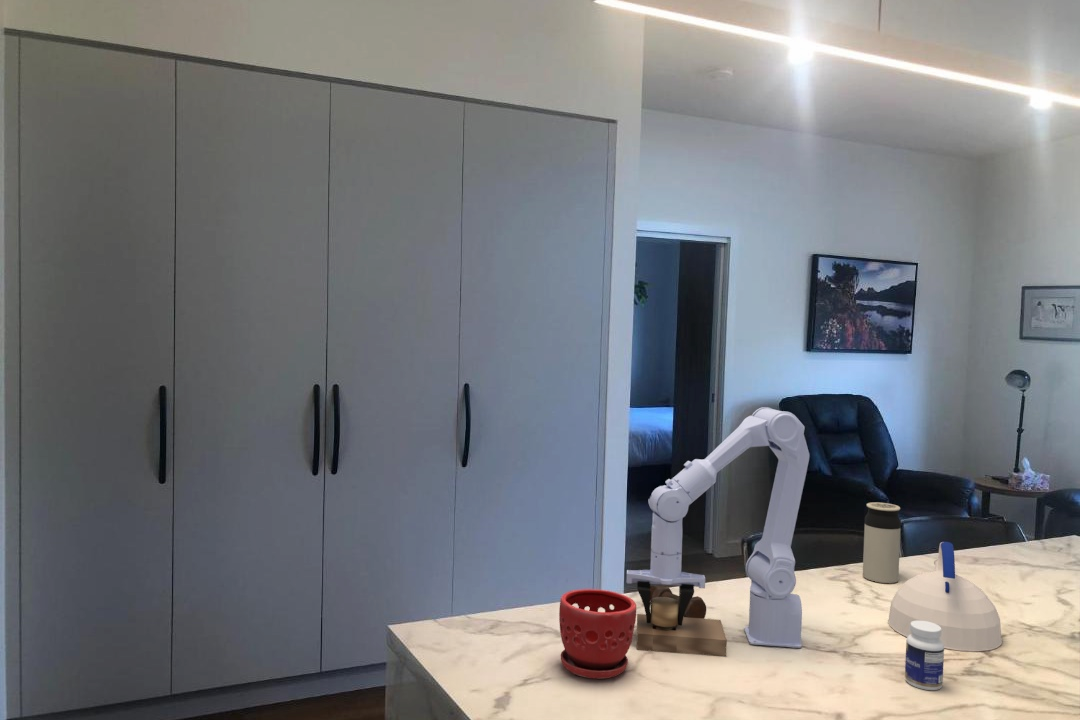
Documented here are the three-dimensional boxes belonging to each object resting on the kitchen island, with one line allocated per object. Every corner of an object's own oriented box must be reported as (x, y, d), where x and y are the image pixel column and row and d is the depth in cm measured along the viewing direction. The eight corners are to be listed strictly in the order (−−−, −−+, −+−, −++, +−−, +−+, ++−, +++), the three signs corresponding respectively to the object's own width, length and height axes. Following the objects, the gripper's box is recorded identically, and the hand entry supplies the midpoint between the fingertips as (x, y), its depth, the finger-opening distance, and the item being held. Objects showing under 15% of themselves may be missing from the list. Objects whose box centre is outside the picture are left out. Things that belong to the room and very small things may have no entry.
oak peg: (675, 636, 146) (676, 597, 146) (679, 647, 141) (680, 607, 141) (648, 635, 147) (649, 596, 146) (650, 645, 141) (652, 605, 141)
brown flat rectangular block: (720, 635, 148) (720, 619, 148) (726, 656, 138) (726, 639, 138) (636, 629, 150) (637, 613, 150) (636, 649, 140) (637, 633, 140)
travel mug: (904, 584, 182) (907, 509, 181) (870, 583, 182) (873, 508, 182) (889, 574, 190) (892, 502, 189) (857, 573, 190) (860, 501, 190)
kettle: (995, 623, 158) (999, 537, 158) (1008, 661, 139) (1013, 563, 139) (888, 606, 167) (891, 524, 166) (887, 639, 148) (891, 547, 147)
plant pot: (613, 692, 123) (615, 618, 122) (543, 671, 130) (545, 601, 129) (646, 664, 134) (648, 596, 133) (580, 646, 141) (582, 581, 140)
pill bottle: (897, 676, 131) (900, 619, 131) (929, 675, 132) (931, 618, 132) (917, 691, 126) (919, 632, 125) (950, 691, 126) (952, 631, 126)
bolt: (651, 609, 167) (699, 630, 154) (635, 600, 164) (683, 621, 152) (661, 583, 168) (710, 602, 155) (646, 575, 166) (694, 593, 153)
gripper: (627, 554, 140) (625, 627, 141) (707, 559, 139) (705, 633, 139) (627, 544, 147) (625, 613, 148) (704, 548, 146) (701, 619, 146)
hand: (664, 622), depth 144 cm, fingers closed on oak peg, 5 cm apart
